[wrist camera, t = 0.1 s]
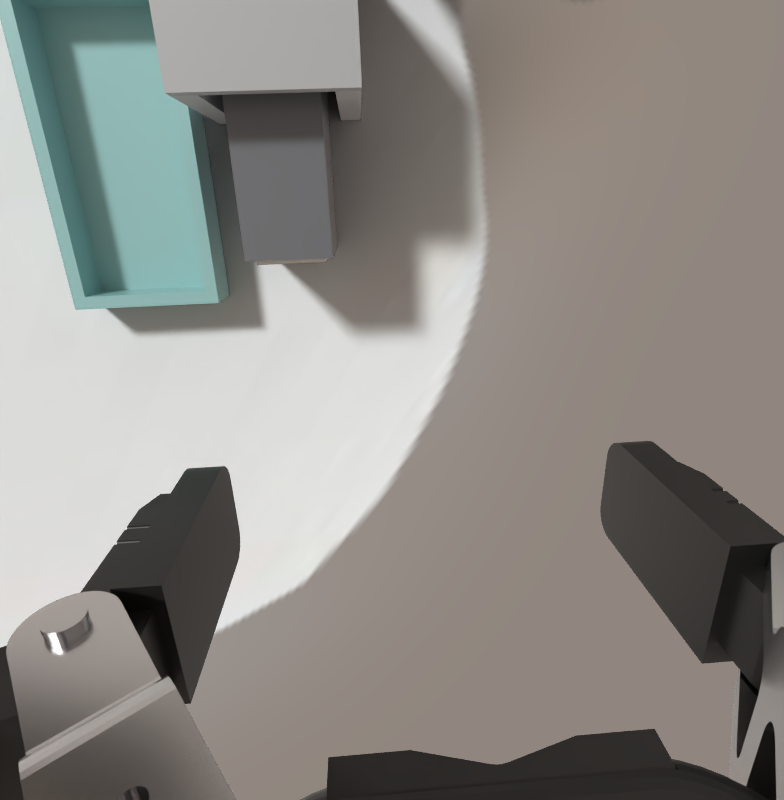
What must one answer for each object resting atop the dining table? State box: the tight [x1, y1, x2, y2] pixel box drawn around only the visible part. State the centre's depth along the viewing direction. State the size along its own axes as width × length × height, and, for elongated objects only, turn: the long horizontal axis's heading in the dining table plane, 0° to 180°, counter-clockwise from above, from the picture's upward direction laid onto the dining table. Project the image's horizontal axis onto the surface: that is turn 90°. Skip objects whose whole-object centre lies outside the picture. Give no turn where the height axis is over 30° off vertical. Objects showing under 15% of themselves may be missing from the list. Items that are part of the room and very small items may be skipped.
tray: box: [0, 0, 229, 310], centre depth 33 cm, size 18×9×3 cm, turn 2°
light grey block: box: [149, 0, 362, 124], centre depth 27 cm, size 9×9×10 cm
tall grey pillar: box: [222, 92, 338, 265], centre depth 31 cm, size 13×5×8 cm, turn 2°
